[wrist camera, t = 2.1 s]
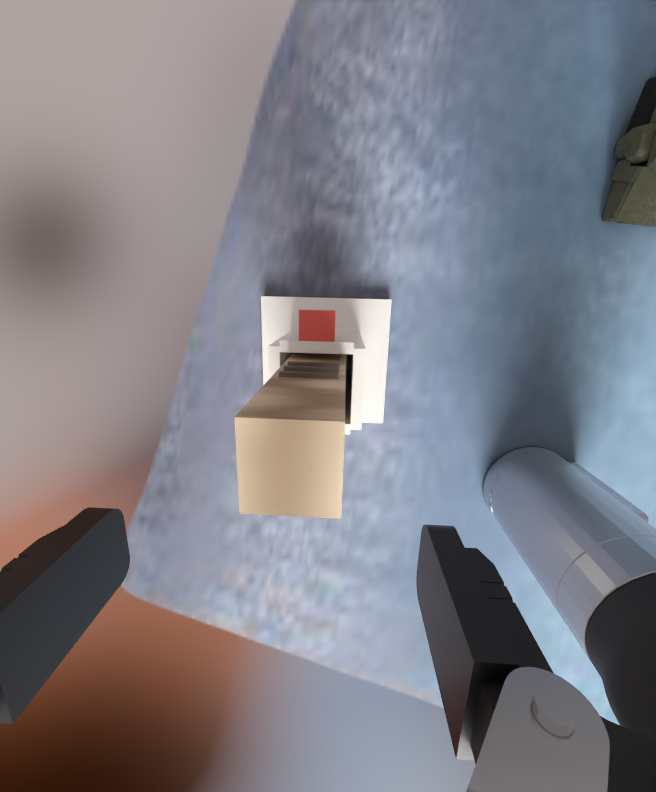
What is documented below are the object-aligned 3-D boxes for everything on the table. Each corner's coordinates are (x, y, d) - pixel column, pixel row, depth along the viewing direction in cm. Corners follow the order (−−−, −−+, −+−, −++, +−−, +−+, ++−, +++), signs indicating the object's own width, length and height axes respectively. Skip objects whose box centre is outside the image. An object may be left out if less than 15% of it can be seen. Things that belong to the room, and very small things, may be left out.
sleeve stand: (389, 299, 34) (410, 301, 23) (381, 418, 37) (396, 471, 26) (264, 296, 34) (225, 297, 23) (267, 413, 38) (234, 463, 27)
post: (347, 340, 33) (347, 415, 13) (345, 385, 34) (343, 520, 14) (302, 338, 33) (231, 410, 13) (302, 383, 35) (237, 515, 14)
